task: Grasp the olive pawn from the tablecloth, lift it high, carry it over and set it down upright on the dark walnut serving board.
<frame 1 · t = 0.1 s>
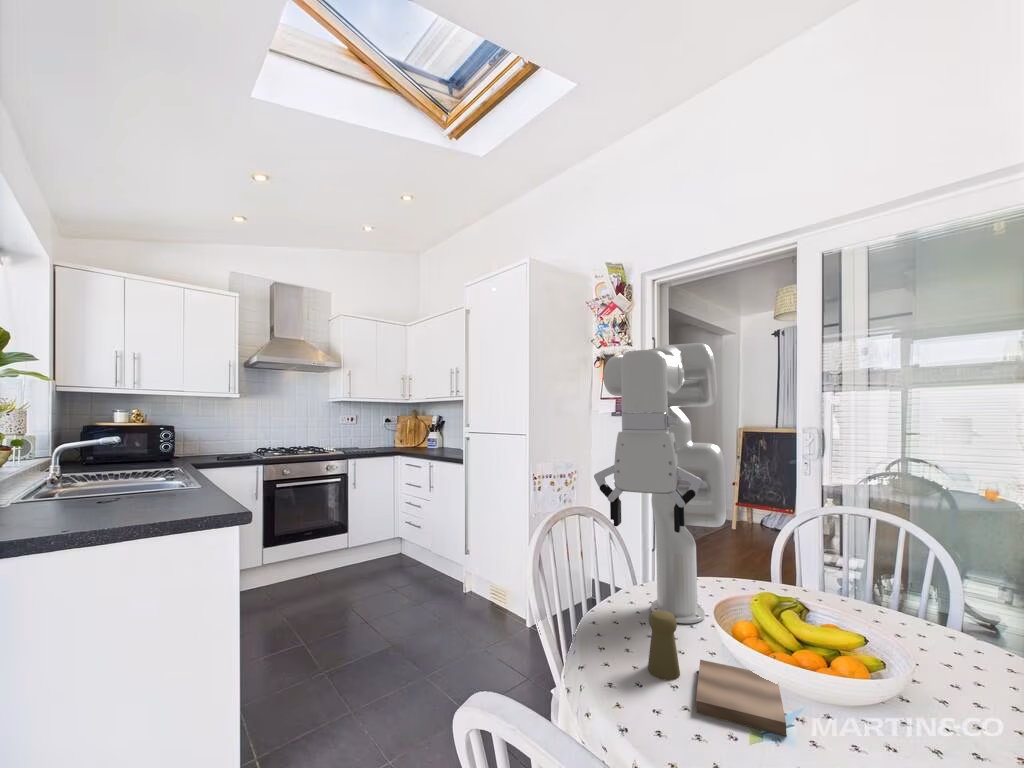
hand: (646, 527, 75), 31 cm above the table, tool pointing down, fingers open, 9 cm apart
walnut board: (738, 699, 79), on the table
olive pawn: (663, 672, 88), on the table
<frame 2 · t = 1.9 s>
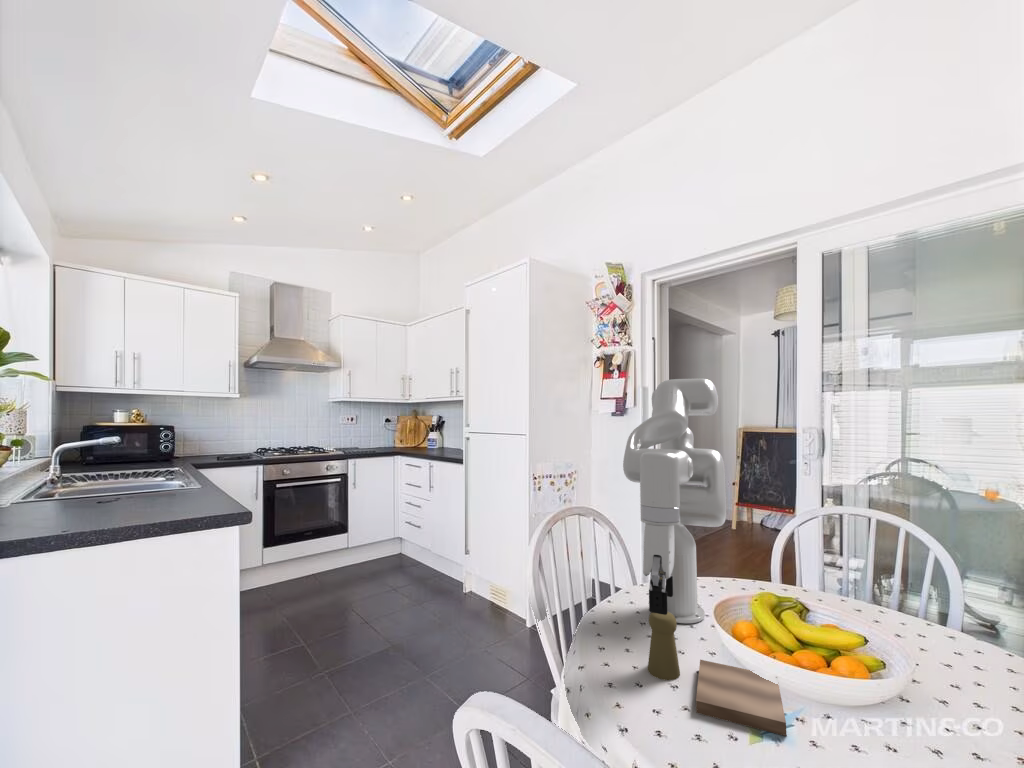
hand: (661, 603, 89), 13 cm above the table, tool pointing down, fingers open, 9 cm apart
nothing on the table moved.
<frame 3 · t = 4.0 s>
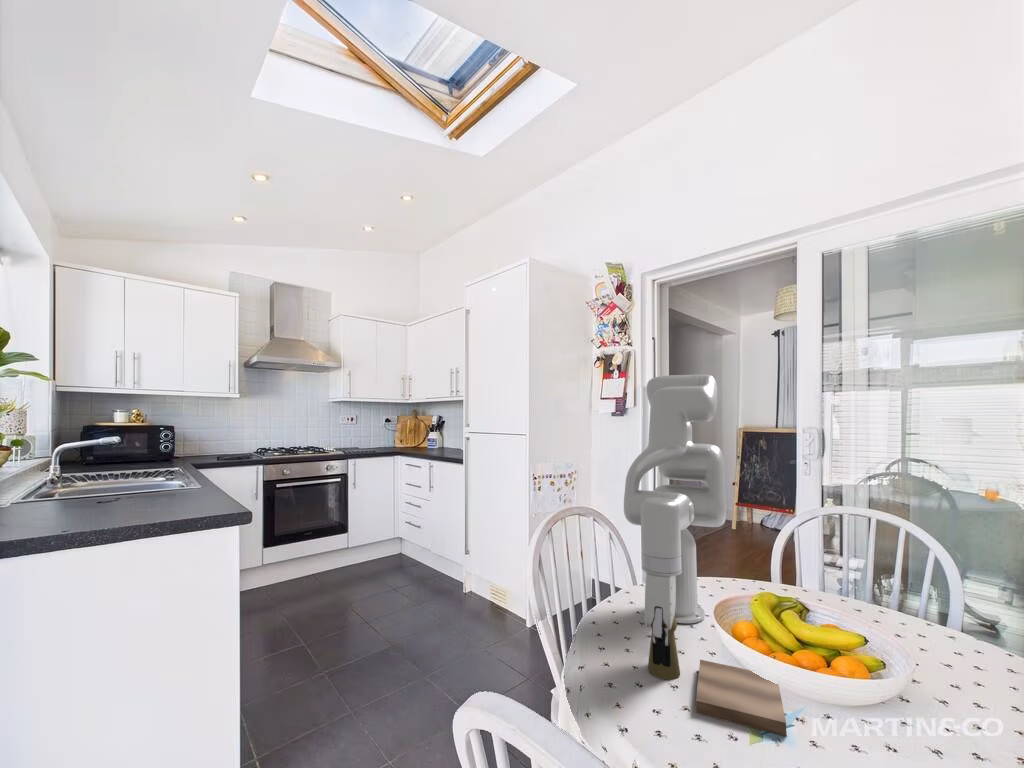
hand: (663, 657, 89), 2 cm above the table, tool pointing down, fingers closed on olive pawn, 4 cm apart
olive pawn: (663, 671, 88), on the table, touching gripper
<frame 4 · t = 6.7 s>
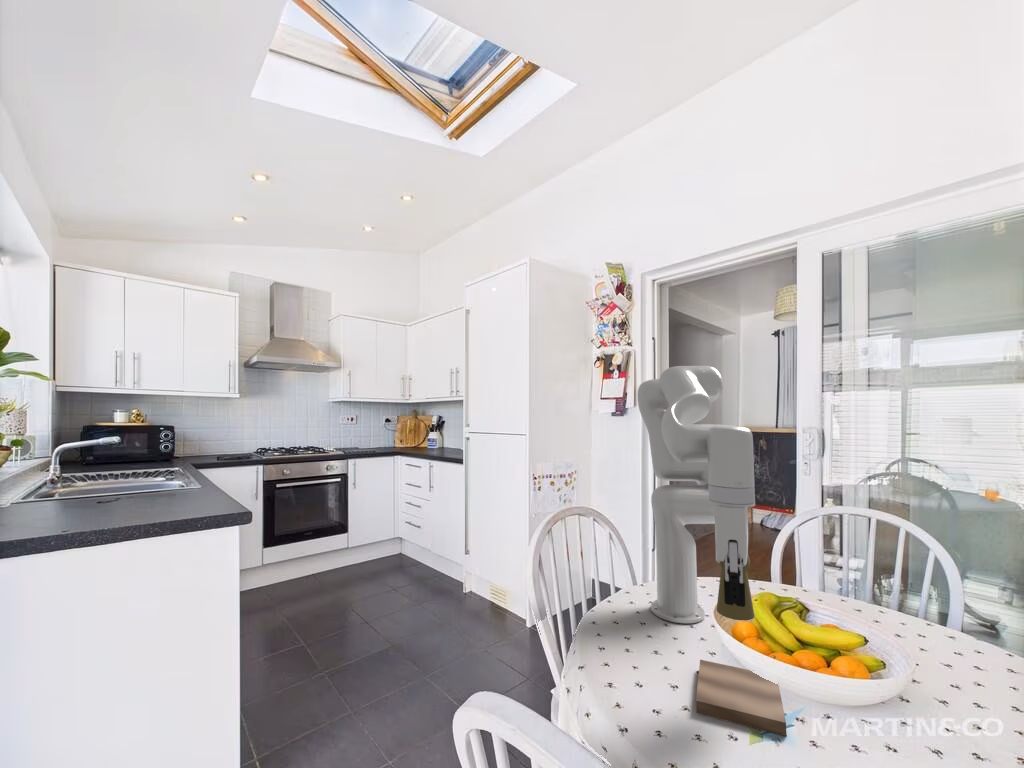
hand: (734, 598, 81), 17 cm above the table, tool pointing down, fingers closed on olive pawn, 4 cm apart
olive pawn: (735, 613, 81), point 14 cm above the table, touching gripper
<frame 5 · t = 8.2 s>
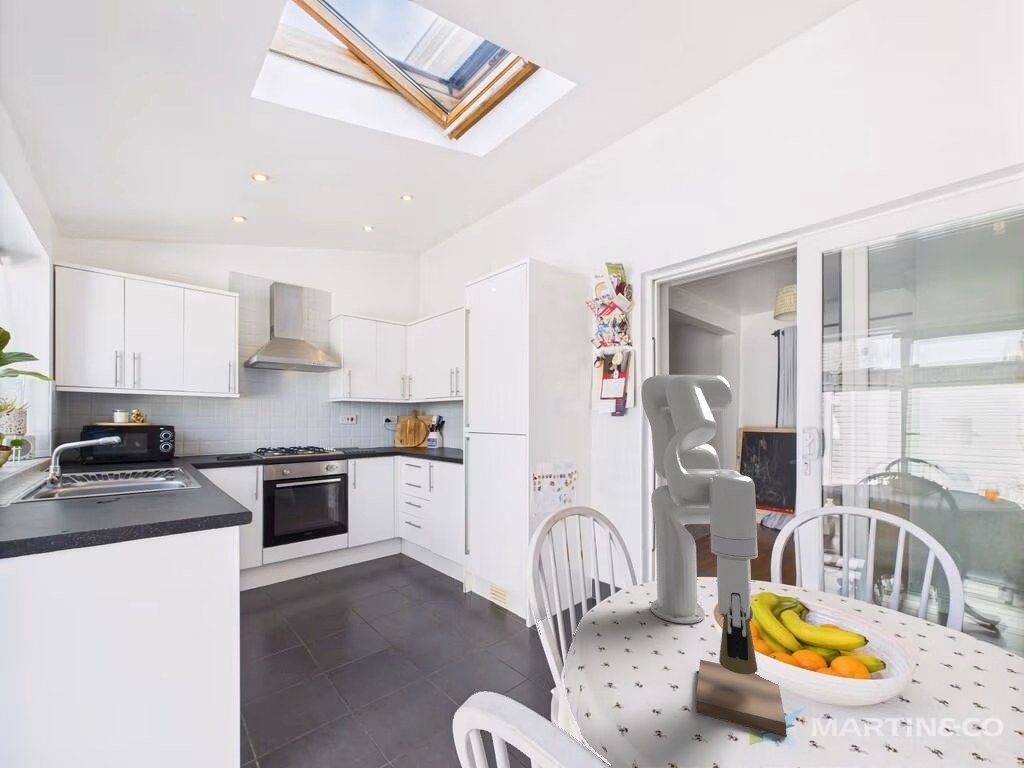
hand: (737, 650, 80), 8 cm above the table, tool pointing down, fingers closed on olive pawn, 4 cm apart
olive pawn: (738, 665, 80), point 6 cm above the table, touching gripper
when the fingers open (6 cm above the table, at t = 9.5 s): olive pawn drops 1 cm, resting on walnut board.
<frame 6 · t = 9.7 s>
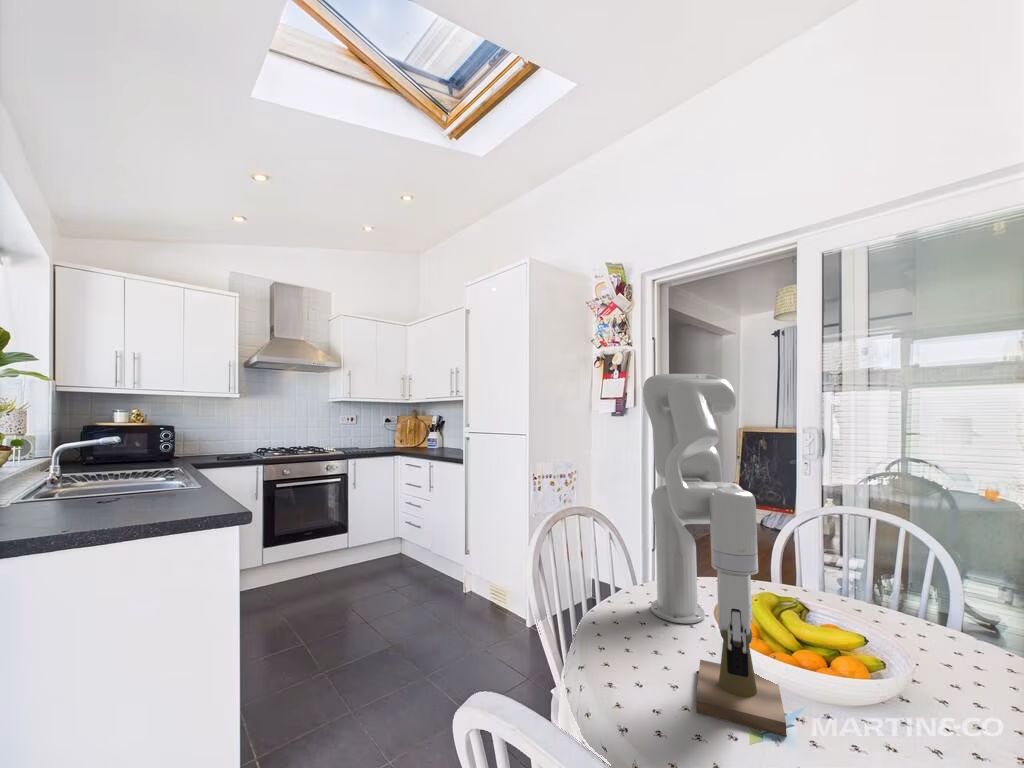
hand: (737, 663, 80), 6 cm above the table, tool pointing down, fingers open, 6 cm apart
olive pawn: (737, 687, 80), point 2 cm above the table, touching walnut board
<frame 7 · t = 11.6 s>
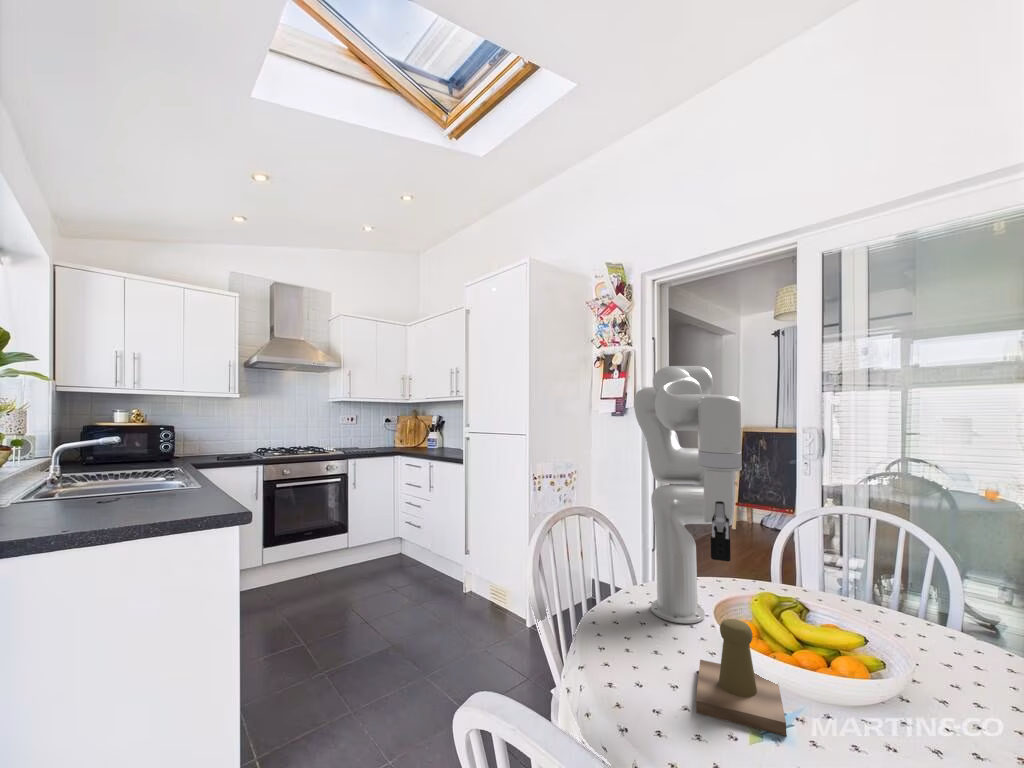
hand: (720, 551, 86), 24 cm above the table, tool pointing down, fingers open, 9 cm apart
nothing on the table moved.
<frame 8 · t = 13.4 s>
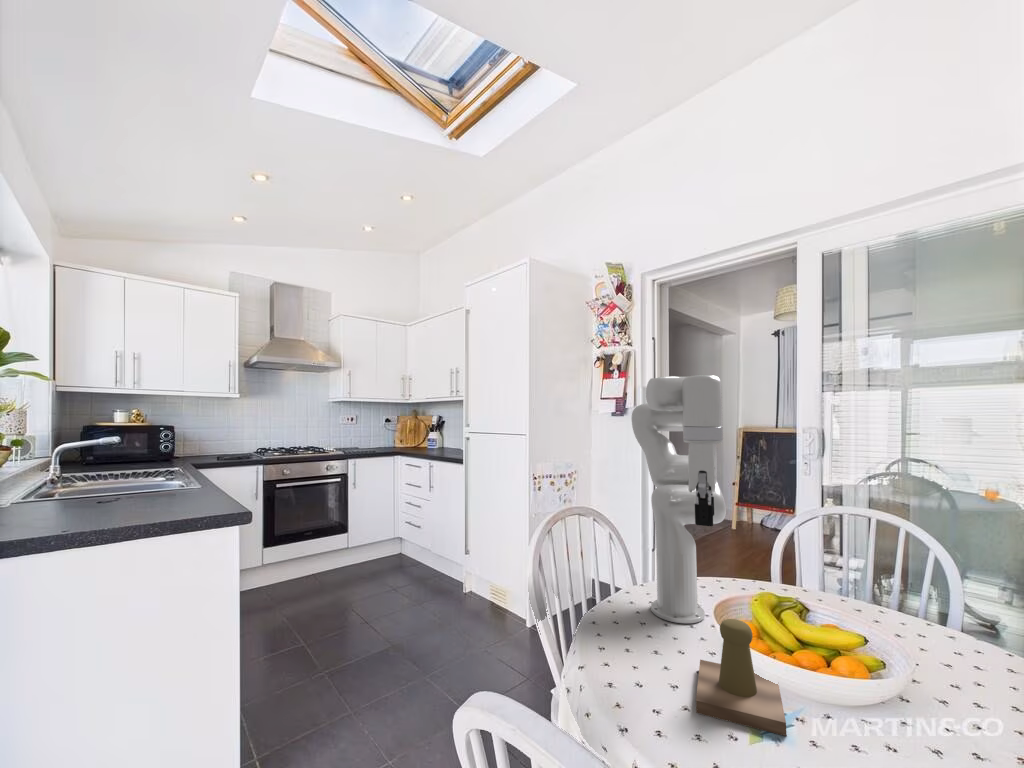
hand: (705, 520, 92), 28 cm above the table, tool pointing down, fingers open, 9 cm apart
nothing on the table moved.
at the end: olive pawn inside the target area on the walnut board (0.3 cm from its centre), point 1.8 cm above the walnut board's base; olive pawn tilted 0°; the gripper is holding nothing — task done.
